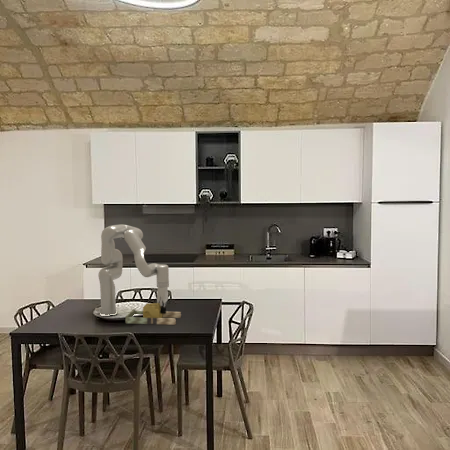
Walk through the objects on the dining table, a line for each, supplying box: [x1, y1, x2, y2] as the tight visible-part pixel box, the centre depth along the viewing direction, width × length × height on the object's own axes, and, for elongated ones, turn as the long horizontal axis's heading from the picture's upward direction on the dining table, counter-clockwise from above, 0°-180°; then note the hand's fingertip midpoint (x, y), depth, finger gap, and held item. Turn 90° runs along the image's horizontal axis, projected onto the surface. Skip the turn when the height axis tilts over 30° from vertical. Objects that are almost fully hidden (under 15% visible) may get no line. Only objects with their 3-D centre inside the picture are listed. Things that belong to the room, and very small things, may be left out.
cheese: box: [142, 302, 163, 318], centre depth 301 cm, size 10×11×10 cm
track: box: [125, 308, 182, 326], centre depth 302 cm, size 31×16×4 cm, turn 83°
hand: (163, 313), depth 301 cm, fingers closed
